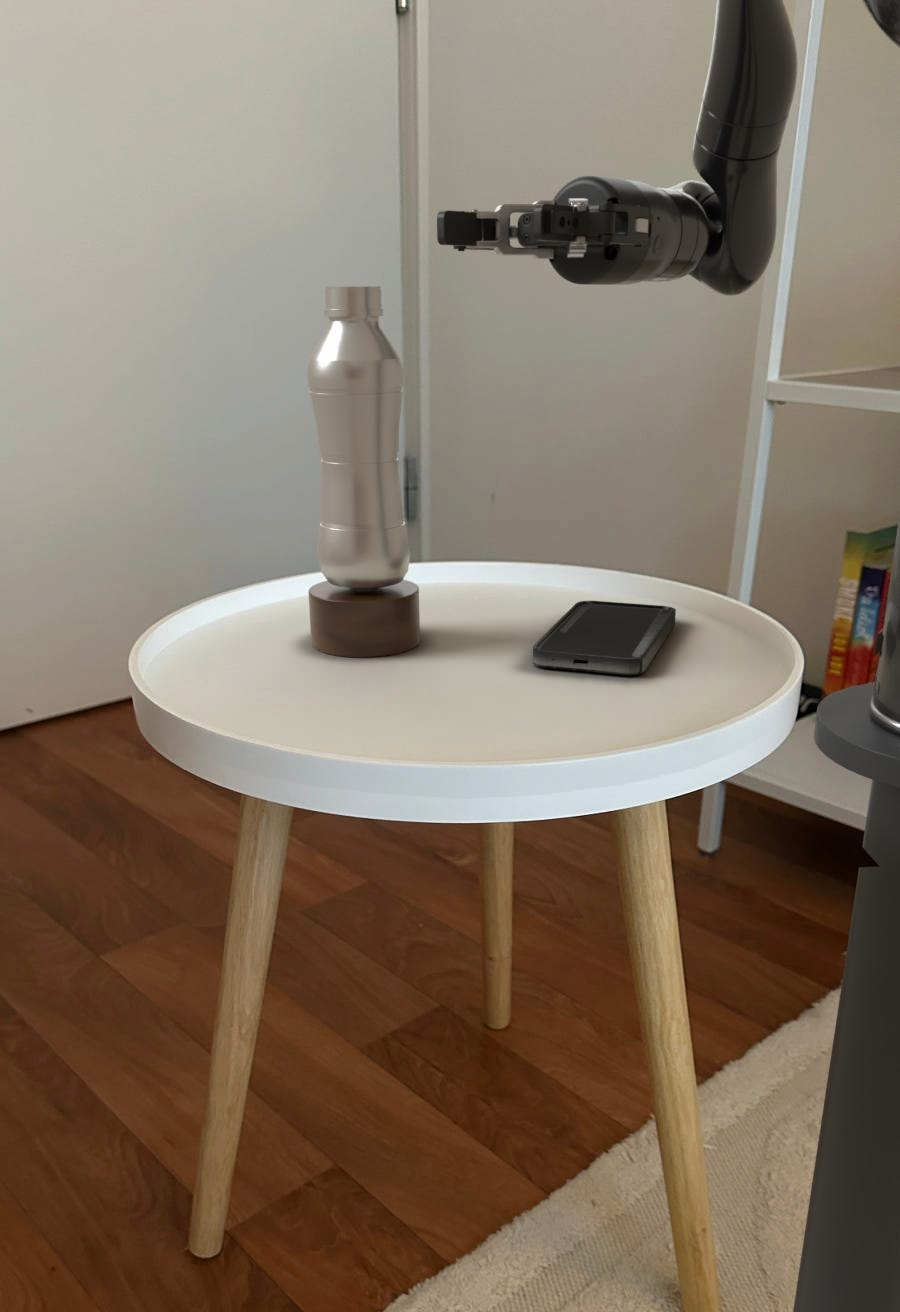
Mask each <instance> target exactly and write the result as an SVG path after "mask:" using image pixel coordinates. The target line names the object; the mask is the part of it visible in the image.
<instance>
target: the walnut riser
mask: <svg viewBox="0 0 900 1312" xmlns="http://www.w3.org/2000/svg"><path fill="white" fill-rule="evenodd" d="M308 606H309V607H308V609H309V624H310V625H309V627H310V643H311V646H312V647H313V649H315V650H317V651H318V652H321V653H324V654H327V655H330V656H337V657H347V658H375V657H384V656H385V657H386V656H391V655H392V656H393V655H398V654H402V653H404V652H407V651H410V650H413V649H414V648H416V647H417V646H418V645H419V644H420V642H421V626H420V625H421V623H420V622H421V621H420V619H421V617H420V587H419V586H418V585H417V584H416V583H415V582H413V581H411V580H406V579H403V580H402V581H401V582H400V583H398V584H395V585H391V586H387V587H382V588H377V589H373V590H357V589H351V588H345V587H339V586H335V585H332V584H330V583H329V582H328V581H327V580H325V581H321V582H318V583H316V584H314V585H312V586H310V587H309V588H308Z"/></svg>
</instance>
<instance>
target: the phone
mask: <svg viewBox="0 0 900 1312" xmlns="http://www.w3.org/2000/svg"><path fill="white" fill-rule="evenodd" d="M676 613H677V609H676V608H675V607H672V606H668V605H658V604H646V603H645V604H644V603H631V602H630V603H629V602H615V601H605V600H604V601H603V600H580V601H578V602H577V601H576V603H575V604H574V605H572V607H570V609H568V610H567V612H565V614H563V616H561V618H560V619H558V620H557V622H556V623H555V624H553V625H552V627H550V628H549V629H548V630H547V631H546V632H545V633H544V634H543V635H542V636H541V637H540V638H539V640H537V641H535V643H534V644H533V645H532V647H531V649H532V652H531V663H532V665H534V666H536V667H538V668H539V667H540V668H544V669H545V668H547V669H558V670H569V671H579V672H589V673H598V674H599V673H600V674H612V675H622V676H636V675H641V674H643V673H645V672H646V670H647V669H648V667H649V665H650V664H651V662H652V660H653V659H654V658H655V656H656V654H657V653H658V651H659V650H660V648H661V647H662V645H663V644H664V642H665V641H666V639H667V637H668V636H669V634H670V633H671V631H672V630H673V628H674V627H675V625H676Z"/></svg>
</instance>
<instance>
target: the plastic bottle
mask: <svg viewBox="0 0 900 1312" xmlns="http://www.w3.org/2000/svg"><path fill="white" fill-rule="evenodd" d="M324 288H325V289H324V303H325V305H324V306H325V309H323V317H327V318H328V324H327V328H326V330H325V332H324V333H323V335H322V336H321V338H320V339H319V341H318V342H317V344H316V346H315V348H314V350H313V351H312V354H311V356H310V358H309V359H308V365H307V368H306V378H307V386H308V388H309V396H310V401H311V406H312V407H311V408H312V413H313V417H314V422H315V427H316V434H317V442H318V451H319V453H320V460H319V461H320V462H319V463H320V471H321V492H320V493H321V496H320V497H321V500H320V519H321V522H320V523H319V527H318V534H317V547H316V548H317V549H316V550H317V551H316V553H317V554H316V555H317V560H318V563H319V569H320V572H321V574H322V575H323V577H324V578H325V579H326V581H328V582H329V583H330V584H332V585H335V586H339V587H345V588H351V589H357V590H373V589H377V588H382V587H387V586H391V585H395V584H398V583H400V582H401V581H402V580H404V579H405V577H406V575H407V573H408V572H409V568H410V567H409V566H410V560H411V559H410V558H411V546H410V538H409V533H408V528H407V525H406V521H404V511H403V509H404V508H403V500H402V493H401V483H400V475H399V464H400V463H399V458H398V452H399V451H400V450H399V449H400V448H399V447H400V424H401V423H400V421H401V413H402V401H403V391H404V390H403V386H404V374H405V371H404V368H403V363H402V361H401V358H400V356H399V354H398V352H397V351H396V349H395V347H394V345H393V344H392V342H391V341H390V339H389V338H388V337H387V335H386V334H385V332H384V331H383V329H382V328H381V326H380V321H379V318H380V317H383V316H384V309H383V308H382V289H381V288H382V287H381V286H377V285H376V286H370V285H369V286H365V285H364V286H363V285H361V286H360V285H359V286H324Z"/></svg>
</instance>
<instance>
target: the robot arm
mask: <svg viewBox="0 0 900 1312" xmlns="http://www.w3.org/2000/svg"><path fill="white" fill-rule="evenodd" d="M861 1H862V3H863V4H864V6H865V8H866V9H867V11H868V13H869V14H870V17H871V18H872V20H873V21H874V23H875V24H876V26H877V27H878V28H879V29H880V31H881V32H882V33H883V35H884V36H885V37H886V38H887V39H888V40H889V41H891V43H893V44H894V45H895V46H897V47H898V48H899V49H900V0H861ZM712 37H713V39H712V47H711V53H710V57H709V59H710V60H709V65H708V71H707V76H706V80H705V86H704V89H703V94H702V98H701V99H702V100H701V105H700V110H699V114H698V119H697V123H696V128H695V132H694V138H693V145H692V153H691V156H692V164H693V166H694V168H695V170H696V172H697V174H698V175H699V177H701V179H702V180H703V181H704V182H703V181H698V180H692V179H690V180H689V179H688V180H685V181H682V182H680V183H678V184H675V185H673V186H670V187H669V188H664V187H657V186H653V185H651V184H648V183H645V182H642V181H638V180H631V179H623V178H615V177H605V176H598V175H582V176H578V177H576V178H574V179H571V180H570V181H568V182H566V184H564V185H563V186H562V187H561V188H560V189H559V190H558V192H557V193H556V194H555V195H554V197H553V198H552V200H538V201H534V202H533V203H503V204H500V205H498V206H497V207H495V209H494V211H484V210H483V211H479V210H478V209H470V211H464V210H439V212H437V215H436V239H437V243H438V244H439V245H440V246H453V250H457V251H458V252H465V251H467V250H468V251H494V252H495V253H496V255H497V256H501V257H502V256H504V257H505V256H529V257H531V258H532V259H533V260H548V261H549V263H550V265H551V266H552V268H553V269H554V271H555V272H556V273H557V274H558V275H559V276H560V277H561V278H562V279H564V280H566V281H568V282H569V283H572V284H576V285H590V286H591V285H594V286H596V285H597V286H598V285H602V286H603V285H604V286H605V285H606V286H607V285H608V286H609V285H610V286H611V285H613V286H615V285H617V286H618V285H623V286H624V285H626V286H627V285H633V284H638V283H641V282H645V283H646V282H647V283H648V282H649V283H650V282H653V283H654V282H657V283H659V282H670V281H675V280H679V279H681V278H684V277H685V276H689V277H691V278H693V279H694V280H696V281H698V282H699V283H700V284H702V285H703V286H705V287H707V288H709V289H710V290H712V291H714V292H716V293H718V294H720V295H722V296H728V297H733V296H737V295H740V294H743V293H745V292H747V291H749V290H750V289H751V288H752V287H753V286H754V285H755V284H757V282H758V281H760V279H761V278H762V276H763V274H764V273H765V272H766V269H767V268H768V265H769V263H770V260H771V258H772V255H773V252H774V248H775V242H776V238H777V237H776V236H777V222H778V221H777V219H778V218H777V217H778V216H777V214H778V212H777V211H778V209H777V208H778V206H777V205H778V204H777V203H778V202H777V201H778V198H777V194H778V193H777V191H778V187H777V186H778V156H779V152H780V149H781V144H782V141H783V137H784V133H785V130H786V126H787V123H788V119H789V115H790V112H791V107H792V103H793V100H794V97H795V91H796V86H797V78H798V77H797V76H798V53H797V45H796V40H795V36H794V32H793V29H792V24H791V21H790V17H789V14H788V11H787V7H786V4H785V3H784V0H716V6H715V20H714V29H713V36H712ZM512 214H520V215H519V217H518V219H517V225H511V215H512ZM511 240H517V242H518V244H519V245H520V247H515V246H512V245H511ZM878 654H879V655H878ZM877 655H878V660H877V669H876V673H875V676H874V682H873V683H874V695H873V697H872V698H871V703H870V710H869V715H870V718H871V719H872V720H873V721H874V722H875V723H876V724H877V725H878V726H880V727H881V728H883V729H885V730H887V731H889V732H891V733H893V734H895V735H898V736H900V514H899V515H898V524H897V528H896V536H895V543H894V550H893V556H892V563H891V571H890V577H889V583H888V592H887V599H886V605H885V612H884V620H883V626H882V630H881V632H879V633H878V634H877V635H876V640H875V648H874V654H873V658H875V657H876V656H877Z"/></svg>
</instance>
